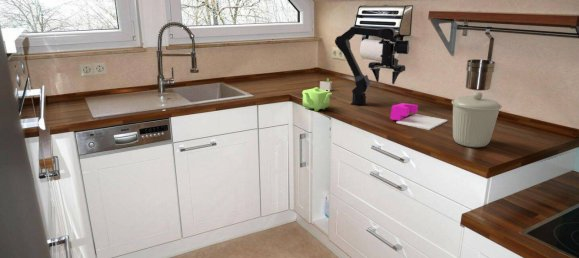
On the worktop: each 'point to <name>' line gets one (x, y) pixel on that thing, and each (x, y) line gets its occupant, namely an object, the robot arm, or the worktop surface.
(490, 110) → the canister
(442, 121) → the mat
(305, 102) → the kettle
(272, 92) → the worktop surface
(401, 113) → the toy block
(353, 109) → the worktop surface
